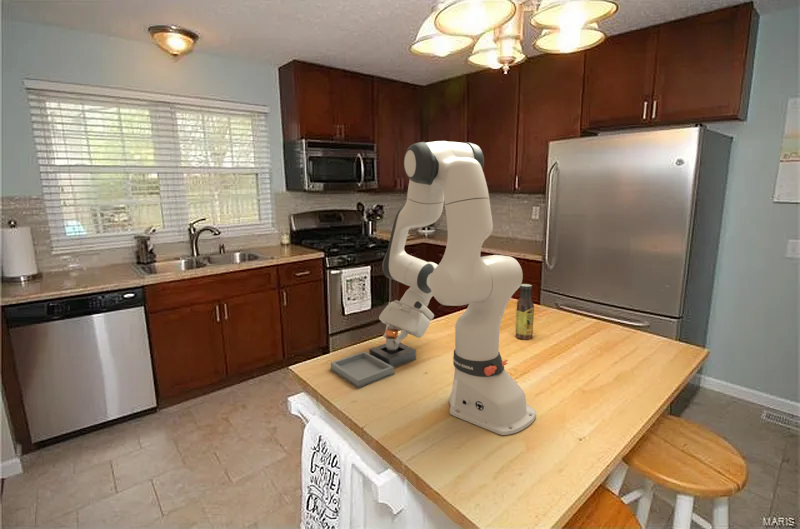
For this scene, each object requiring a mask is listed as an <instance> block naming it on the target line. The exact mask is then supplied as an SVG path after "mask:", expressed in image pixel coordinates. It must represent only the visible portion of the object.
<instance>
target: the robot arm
mask: <svg viewBox="0 0 800 529" xmlns="http://www.w3.org/2000/svg"><path fill="white" fill-rule="evenodd" d="M484 166H485V157H484V153H483V151H482V149H481V148H480V146H479V145H477V144H475V143H472V142H467V141H463V142H458V141H447V140H436V141H428V142H425V141H421V142H416V143H413V144H410V145H409V146H408V148H407V149H406V151H405V153H404V157H403V167H404V172H405V175H406V176H407V178H408V179H409V181H408V182H409V183H408V187H407V188H408V189H407V193H406V194H407V195H406V201H405V205H404V206H402V207H401V208H399V210H398V211H397V213H396V215H395V217H394V218H395V219H394V221H393V225H392V230H391V233H390V237H389V242H388V246H387V250H386V253H385V255H384V257H383V261H382V265H381V266H382V272H383V273H384V276H385V277H386V278H388V279H390V280H393V281H397V282H398V283H401V284H403V285H405V286H408V287H409V288H408V289H406V290H405V293H404V294H403V296H402V297H401V298H400V300H397V299H395V300H394V301H391V302H390V303H389V304H387V305H386V307H384V309H383V310H382V311H381V313H380V314H379V315H378V316H379V317H378V319H379V321H380V322H381V323H383V324H385V325H386V326H385V332H384V333H383V338H385V339H386V330H387V329H397V330H398V331H400V333H399V334H398V336H395V338H394V339H393V341H394V342H395V343H397V344H399V343H401V341H402V340H404V339H406V337H408V335H411V336H413V337H415V338H417V339H421V338H422V337H423V336H424V335H425V334H426V332H427V330H428V328H429V326H430V324H431V321H432V320H433V319H434V317H435V314H434V313H433V312H432V311H431V310H430V309H429V307H428V306H429V304H430V300H431V299H432V297H434V299H435V300H436V301H437V302H438V303H439V304H440V305H442V306H451V307H453V306H454V307H455V306H458V307H459V306H460V307H461V306H466V305H468V306H467V308H466V309H465V311H464V312H463V313H462V314H461V315H460V316H459V317H458V318H457V320H456V322H455V325H454V332H455V334H454V342H455V343H454V344H455V346H454V347H455V348H454V350H453V357H452V360H453V362H452V363H453V367H454V373H453V381H452V388H451V391H450V395H449V398H448V402H449V405H450V408H449V414H450V415H451V416H453V417H455V418H459V419H460V420H463V421H465V422H468V423H471V424H473V425H475V426H477V427H480V428H483V429H484V430H485V429H486V430H488V431H490V432H493V433H495V434H498V435H501V436H507V435H513V434H516V433H518V432H521V431H522V430H525V429H526V428H527V427H528V426H530V425H532V423H533V422H535V419H536V416H537V413H536V410H535V409H534V408H532V407H531V406H530V405H528V404H527V399H526V393H525V391H524V389H522V387H521V386H520V385H519V384H518V382H517V381H516V380H514V378H513V377H512V376H511V375H510V374H509V372H507V370H506V369H505V366H506V365H507V364H509V363H508V359H505V360H503V358H502V356H501V352H500V351H499V346H500V345H499V344H500V329H501V323H502V319H503V316H504V313H505V311H506V308H507V306H508V305H509V304H508V303H509V302H510V299H511V298H512V297H513V295H515V293H516V291H518V290H519V289H520V286H521V284H523V276H524V274H523V269H522V266H521V265H520V263H519V262H518V260H517V259H516V258H514V257H512V256H510V255H509V256H508V255H501V254H500V255H499V254H493V255H491V254H490V255H484V256H481V251H482V247H483V244H484V243H485V240H487V239H488V238H489V237H490V236H491V234H492V232H493V230H494V223H493V217H492V215H493V214H492V209H491V202H490V201H491V200H490V193H489V188H488V185H487V181H486V177H485V173H484V171H483V170H484ZM444 209H445V210H444ZM443 210H444V211H445V215H446V216H445V217H446V229H447V230H446V231H447V241H446V248H445V251H444V254H443V256H442V258H441V261H440V262H439V263H438V264H437V263H435V262H433V261H426V260H424V259H422V258H418V257H416V256H412V255H410V254H408V253H407V252H406V251H405V246H406V242H407V238H408V234H409V231H410V229H413V228H425V227H428V226H430V225H433V224H434V223H436V222H437V221H438V220H439V219H440V218H441V215H442V214H443Z"/></svg>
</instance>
